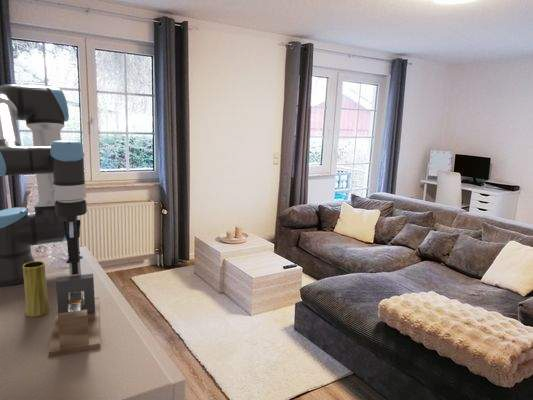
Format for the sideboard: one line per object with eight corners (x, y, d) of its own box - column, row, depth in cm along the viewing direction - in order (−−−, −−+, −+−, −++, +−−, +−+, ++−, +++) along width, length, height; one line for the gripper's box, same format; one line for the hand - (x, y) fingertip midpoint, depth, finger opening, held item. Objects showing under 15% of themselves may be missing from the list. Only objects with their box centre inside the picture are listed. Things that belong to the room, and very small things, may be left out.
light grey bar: (72, 290, 115) (71, 281, 114) (83, 289, 116) (82, 280, 115) (67, 327, 95) (66, 316, 94) (80, 325, 96) (80, 314, 95)
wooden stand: (58, 306, 116) (55, 277, 114) (98, 300, 120) (97, 272, 118) (48, 357, 91) (45, 321, 90) (100, 347, 96) (98, 313, 94)
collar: (59, 312, 108) (56, 277, 106) (95, 307, 112) (93, 273, 110) (58, 317, 106) (55, 281, 104) (95, 311, 109) (93, 277, 107)
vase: (38, 318, 108) (34, 269, 106) (19, 315, 110) (14, 266, 107) (54, 308, 114) (51, 261, 112) (36, 305, 116) (32, 259, 113)
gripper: (56, 195, 109) (62, 276, 114) (52, 205, 97) (59, 295, 102) (86, 194, 112) (91, 273, 117) (85, 203, 100) (90, 291, 105)
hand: (76, 283), depth 109 cm, fingers closed
